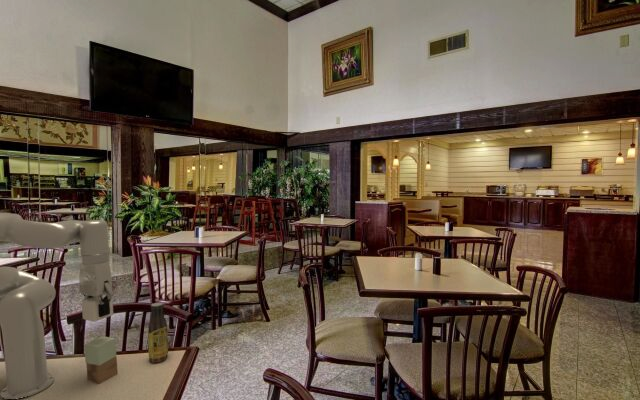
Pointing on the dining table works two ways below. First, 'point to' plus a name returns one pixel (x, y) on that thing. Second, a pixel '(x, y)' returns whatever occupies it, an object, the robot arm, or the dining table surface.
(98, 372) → the walnut cube
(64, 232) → the robot arm
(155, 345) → the sauce bottle
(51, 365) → the dining table surface
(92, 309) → the stone cube
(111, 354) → the sage cube
